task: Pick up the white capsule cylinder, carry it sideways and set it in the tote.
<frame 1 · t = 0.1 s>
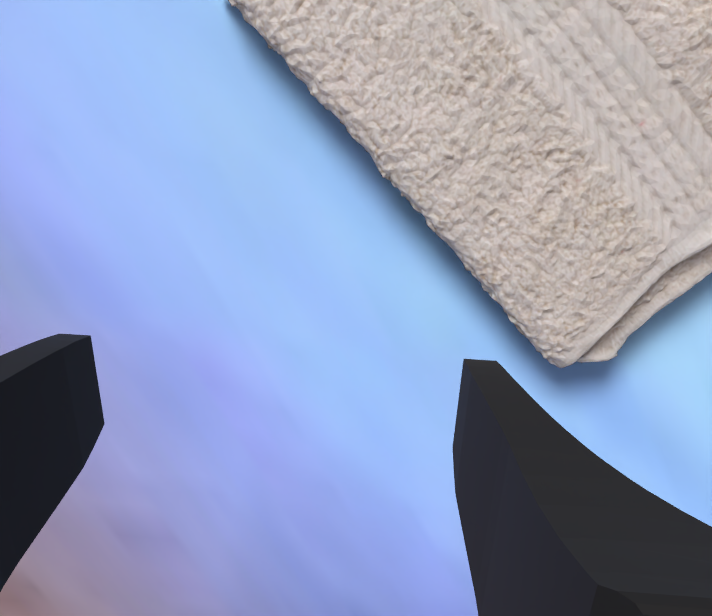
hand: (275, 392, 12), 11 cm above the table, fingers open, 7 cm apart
washcloth: (525, 67, 21), on the table
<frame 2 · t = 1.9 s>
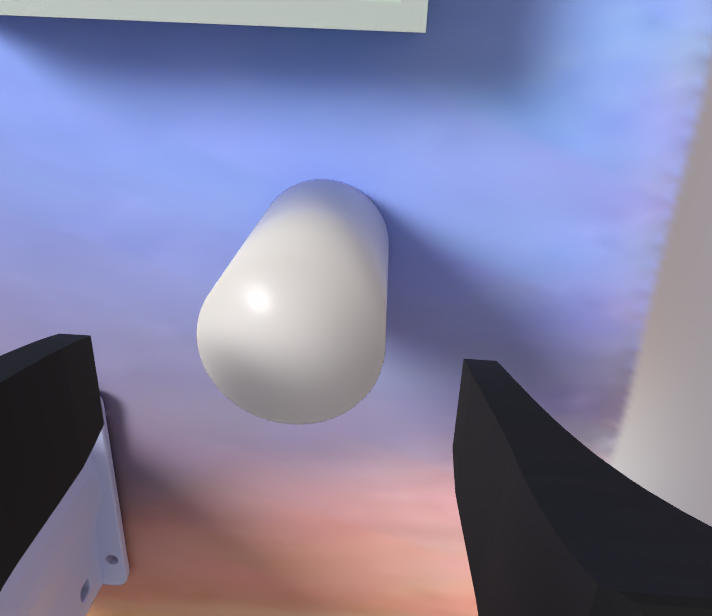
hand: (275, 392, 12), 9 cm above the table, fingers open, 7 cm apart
white capsule cylinder: (323, 243, 20), on the table
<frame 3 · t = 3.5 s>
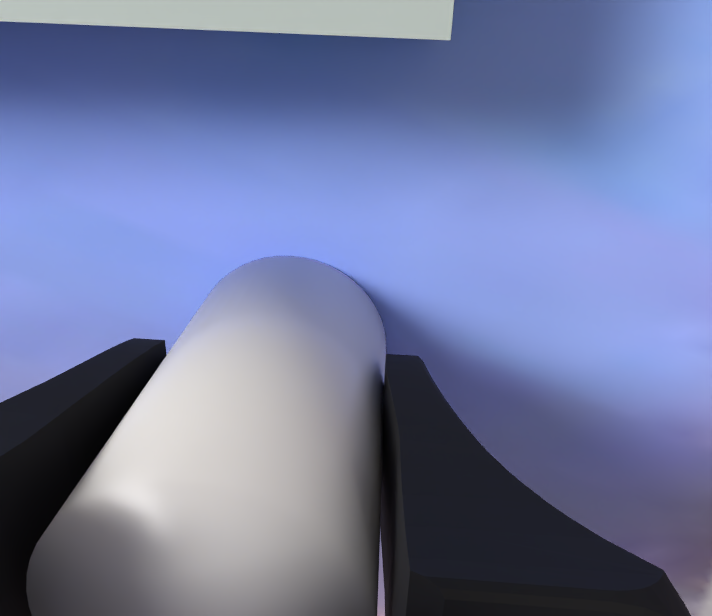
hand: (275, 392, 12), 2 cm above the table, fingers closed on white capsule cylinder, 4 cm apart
white capsule cylinder: (291, 345, 14), on the table, touching gripper
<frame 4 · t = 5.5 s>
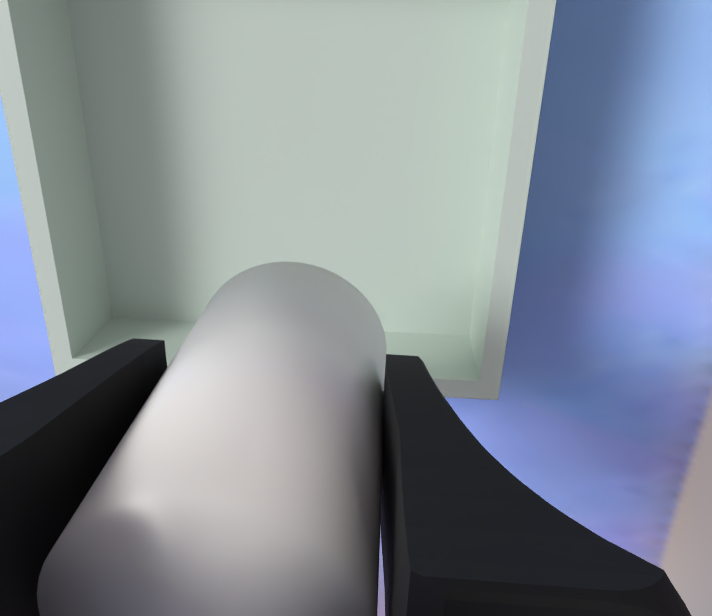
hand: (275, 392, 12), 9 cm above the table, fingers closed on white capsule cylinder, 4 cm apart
white capsule cylinder: (292, 348, 14), point 7 cm above the table, touching gripper
tote: (288, 140, 19), on the table
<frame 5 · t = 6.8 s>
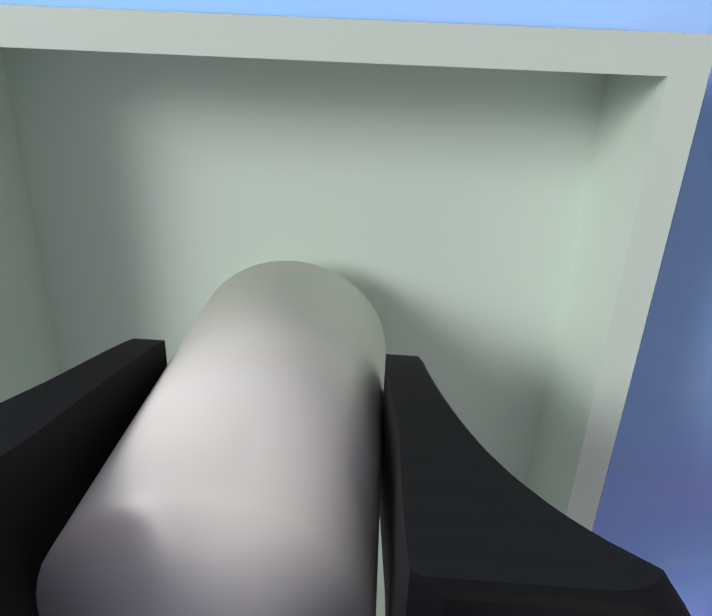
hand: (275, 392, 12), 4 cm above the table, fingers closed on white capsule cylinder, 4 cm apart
white capsule cylinder: (291, 347, 14), point 1 cm above the table, touching gripper
tote: (301, 315, 15), on the table
when the fingers open (3 cm above the table, at t = 7.6 s): white capsule cylinder stays where it is, resting on tote.
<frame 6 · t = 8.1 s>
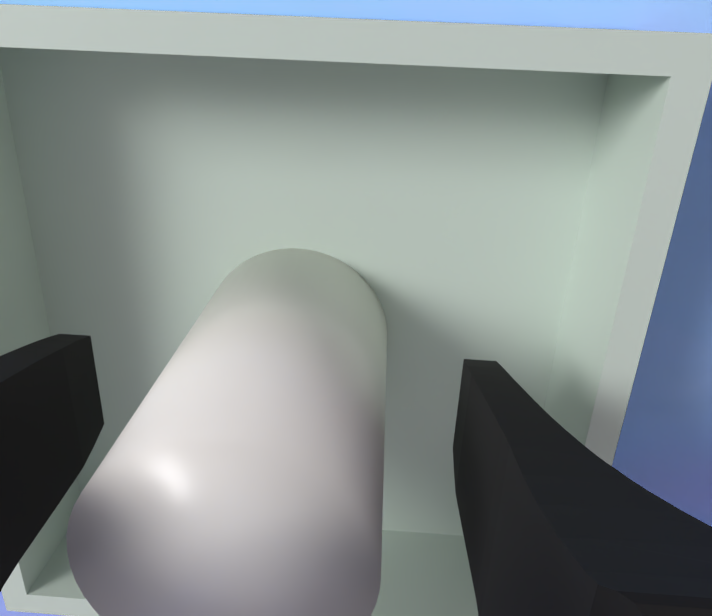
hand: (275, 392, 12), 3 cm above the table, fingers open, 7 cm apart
white capsule cylinder: (297, 333, 15), point 1 cm above the table, touching tote
tote: (300, 316, 15), on the table
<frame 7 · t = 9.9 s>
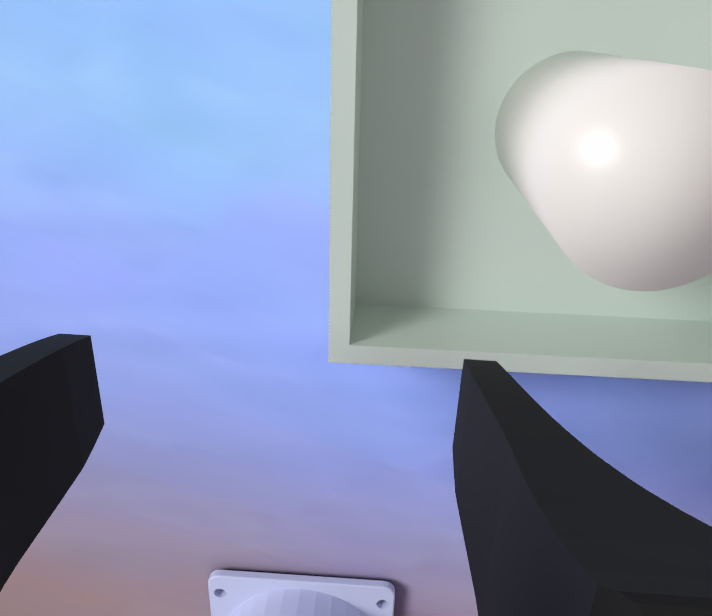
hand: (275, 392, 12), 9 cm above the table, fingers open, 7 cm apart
white capsule cylinder: (568, 129, 18), point 1 cm above the table, touching tote
tote: (563, 121, 19), on the table
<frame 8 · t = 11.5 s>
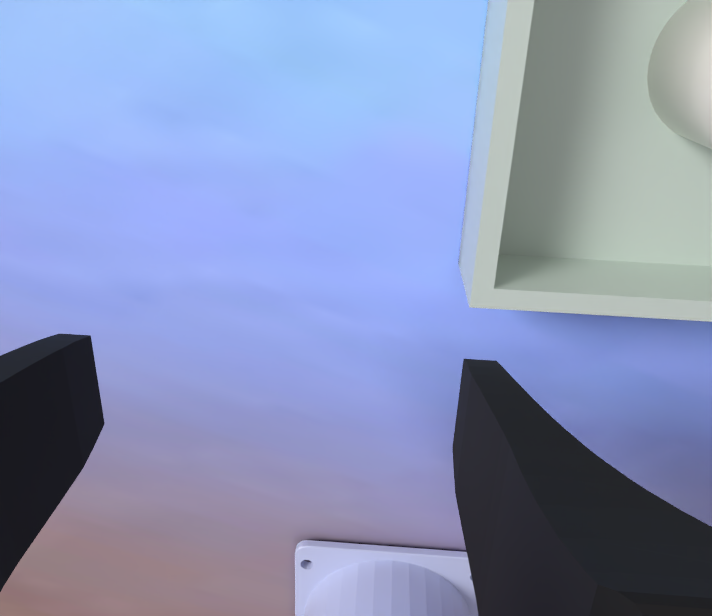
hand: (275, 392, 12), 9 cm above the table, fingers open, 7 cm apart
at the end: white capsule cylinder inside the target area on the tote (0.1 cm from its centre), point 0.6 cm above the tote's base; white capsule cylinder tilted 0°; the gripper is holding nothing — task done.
